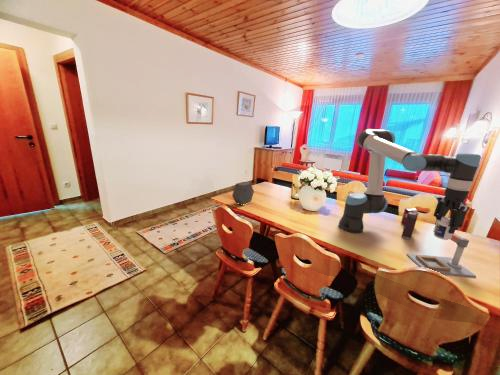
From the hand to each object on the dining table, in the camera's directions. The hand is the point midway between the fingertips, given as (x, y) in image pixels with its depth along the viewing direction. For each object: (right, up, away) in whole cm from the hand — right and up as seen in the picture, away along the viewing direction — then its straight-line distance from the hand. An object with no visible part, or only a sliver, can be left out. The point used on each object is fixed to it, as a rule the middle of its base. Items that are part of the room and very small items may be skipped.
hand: (441, 235), depth 98 cm
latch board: (+3, -16, +5) cm, 17 cm away
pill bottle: (0, -1, 0) cm, 1 cm away
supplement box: (+9, -8, +34) cm, 36 cm away
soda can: (+22, -4, +50) cm, 55 cm away
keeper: (+11, -3, +8) cm, 14 cm away
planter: (-97, +9, +76) cm, 123 cm away
